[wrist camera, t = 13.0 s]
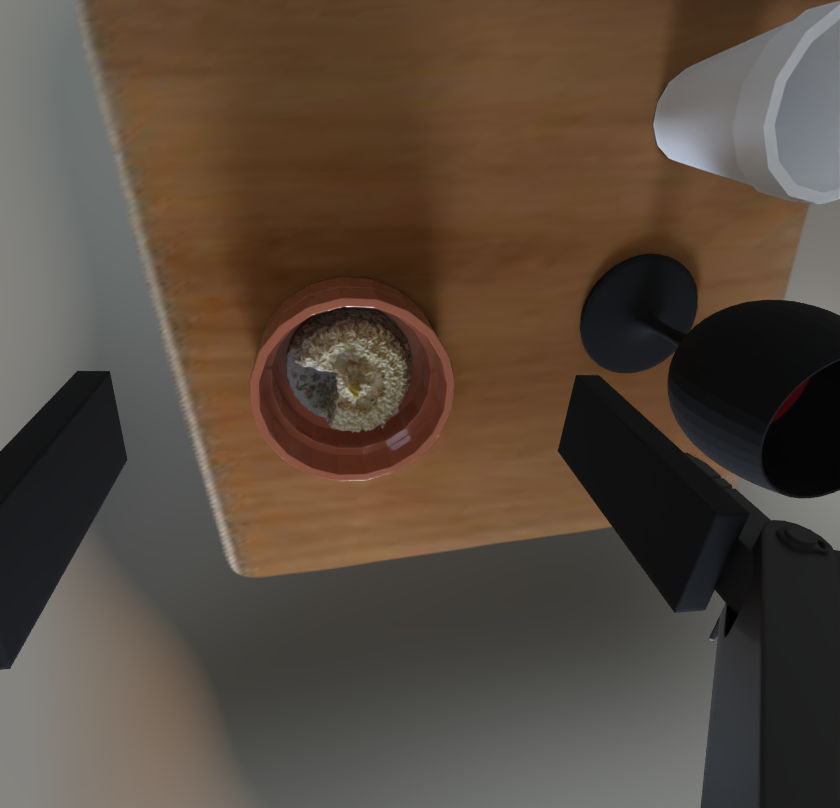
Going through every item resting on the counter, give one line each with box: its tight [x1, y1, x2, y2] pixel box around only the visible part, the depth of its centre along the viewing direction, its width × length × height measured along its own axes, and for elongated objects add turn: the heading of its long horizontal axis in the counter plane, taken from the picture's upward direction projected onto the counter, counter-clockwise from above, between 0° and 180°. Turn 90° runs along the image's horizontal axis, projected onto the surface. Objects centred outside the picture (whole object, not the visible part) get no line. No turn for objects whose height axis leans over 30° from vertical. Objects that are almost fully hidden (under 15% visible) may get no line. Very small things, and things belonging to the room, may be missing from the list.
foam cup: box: [653, 1, 840, 205], centre depth 33 cm, size 10×9×13 cm
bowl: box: [250, 277, 455, 481], centre depth 40 cm, size 14×14×6 cm
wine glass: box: [580, 254, 840, 498], centre depth 36 cm, size 10×10×20 cm
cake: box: [285, 307, 413, 433], centre depth 40 cm, size 10×10×5 cm
